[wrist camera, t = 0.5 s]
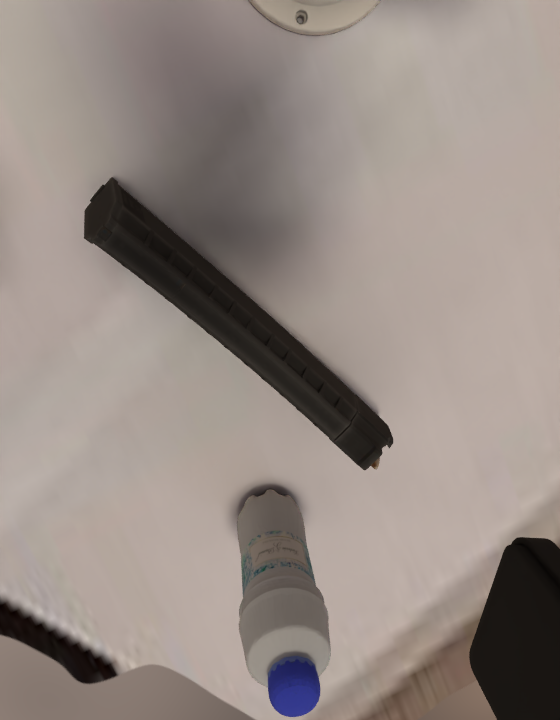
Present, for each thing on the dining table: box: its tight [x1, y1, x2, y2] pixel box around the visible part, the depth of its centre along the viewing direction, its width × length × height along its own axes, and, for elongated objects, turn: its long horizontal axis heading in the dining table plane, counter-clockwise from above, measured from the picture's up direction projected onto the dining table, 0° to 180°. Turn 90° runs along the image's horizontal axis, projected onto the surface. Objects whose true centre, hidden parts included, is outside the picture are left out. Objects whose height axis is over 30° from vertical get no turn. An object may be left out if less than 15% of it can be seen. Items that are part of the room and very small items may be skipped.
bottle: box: [237, 490, 331, 717], centre depth 41 cm, size 7×7×20 cm
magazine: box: [84, 178, 393, 470], centre depth 39 cm, size 17×3×30 cm
